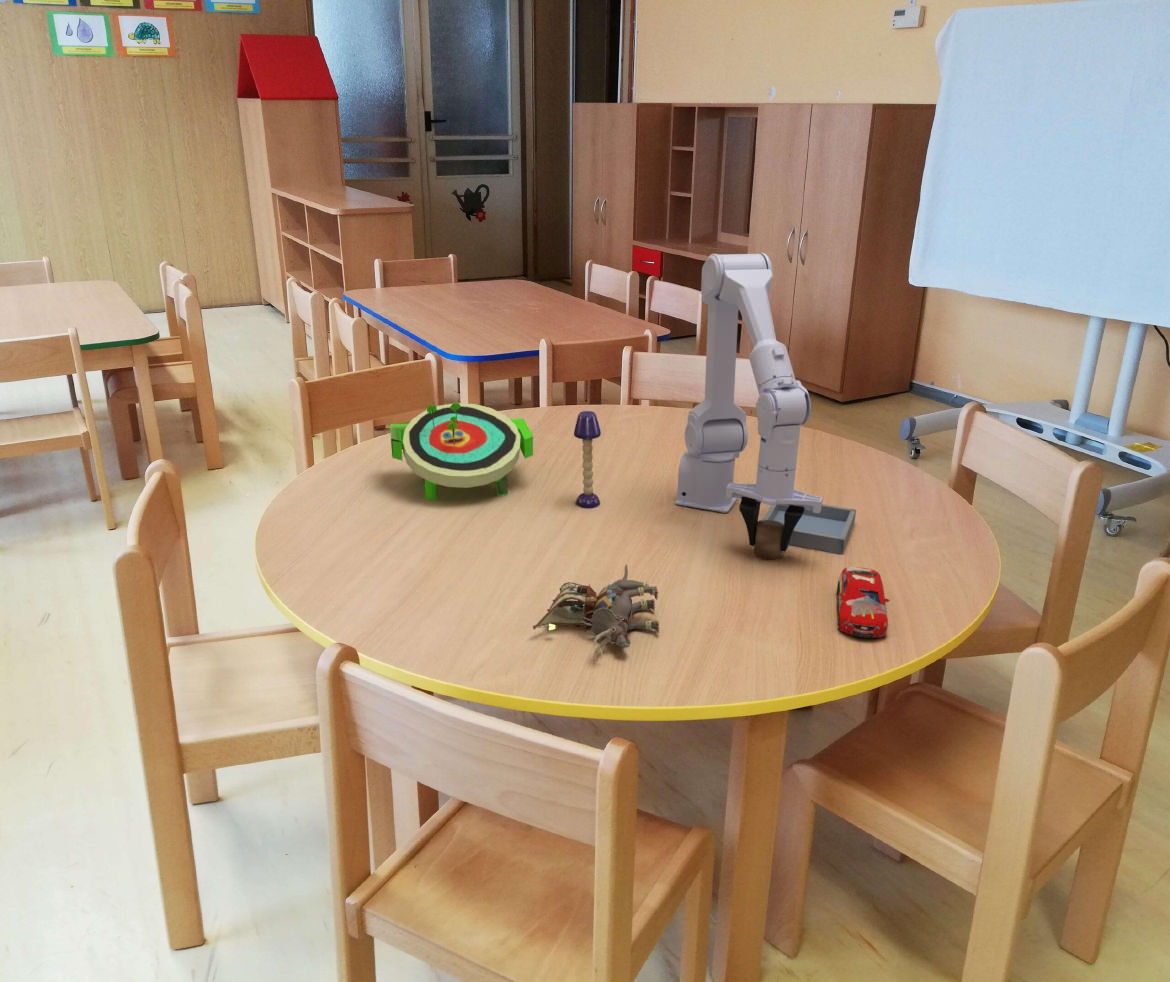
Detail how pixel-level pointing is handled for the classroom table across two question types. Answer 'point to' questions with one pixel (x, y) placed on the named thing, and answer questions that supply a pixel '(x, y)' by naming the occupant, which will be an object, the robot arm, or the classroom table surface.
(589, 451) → the toy lamp
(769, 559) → the walnut post
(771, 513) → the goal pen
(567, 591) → the figurine
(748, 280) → the robot arm
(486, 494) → the classroom table surface
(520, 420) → the dartboard
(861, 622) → the race car
